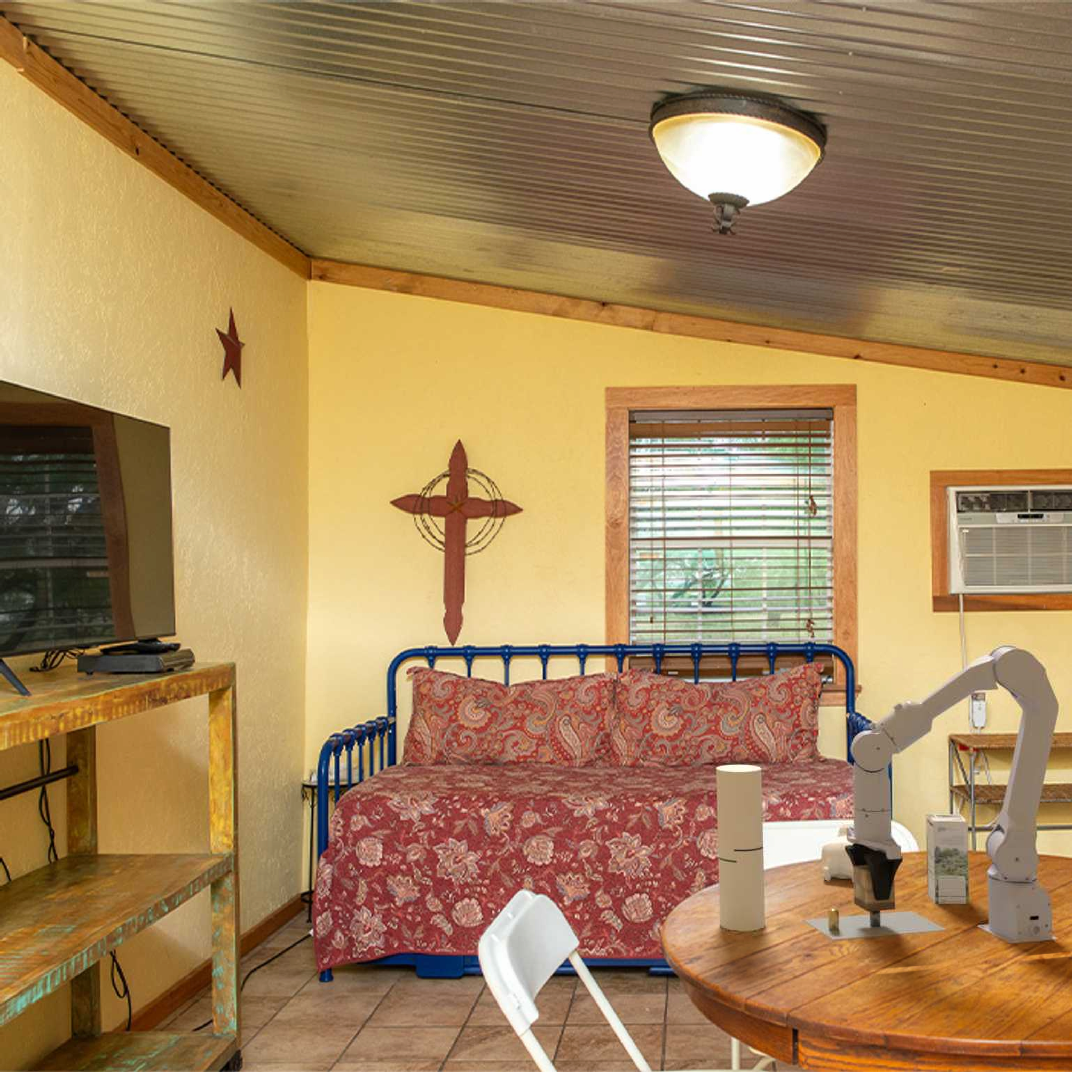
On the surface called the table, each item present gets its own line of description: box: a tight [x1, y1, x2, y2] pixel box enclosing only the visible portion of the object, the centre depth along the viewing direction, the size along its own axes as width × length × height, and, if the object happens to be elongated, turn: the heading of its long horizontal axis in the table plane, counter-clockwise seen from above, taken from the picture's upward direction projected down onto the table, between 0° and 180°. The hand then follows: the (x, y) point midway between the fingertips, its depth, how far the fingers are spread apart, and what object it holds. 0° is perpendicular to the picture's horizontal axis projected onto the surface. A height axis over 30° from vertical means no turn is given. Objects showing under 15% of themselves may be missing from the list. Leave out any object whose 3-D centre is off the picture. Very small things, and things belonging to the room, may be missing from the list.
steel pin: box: [869, 911, 881, 927], centre depth 193 cm, size 2×2×4 cm
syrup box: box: [925, 813, 970, 905], centre depth 208 cm, size 6×6×14 cm
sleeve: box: [853, 865, 896, 913], centre depth 194 cm, size 5×5×6 cm
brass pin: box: [827, 908, 840, 931], centre depth 192 cm, size 2×2×4 cm
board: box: [802, 910, 948, 941], centre depth 194 cm, size 11×19×1 cm, turn 102°
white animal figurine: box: [820, 821, 854, 884], centre depth 229 cm, size 9×8×15 cm
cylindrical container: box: [715, 764, 766, 932], centre depth 198 cm, size 7×7×25 cm
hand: (874, 895), depth 194 cm, fingers closed on sleeve, 5 cm apart
